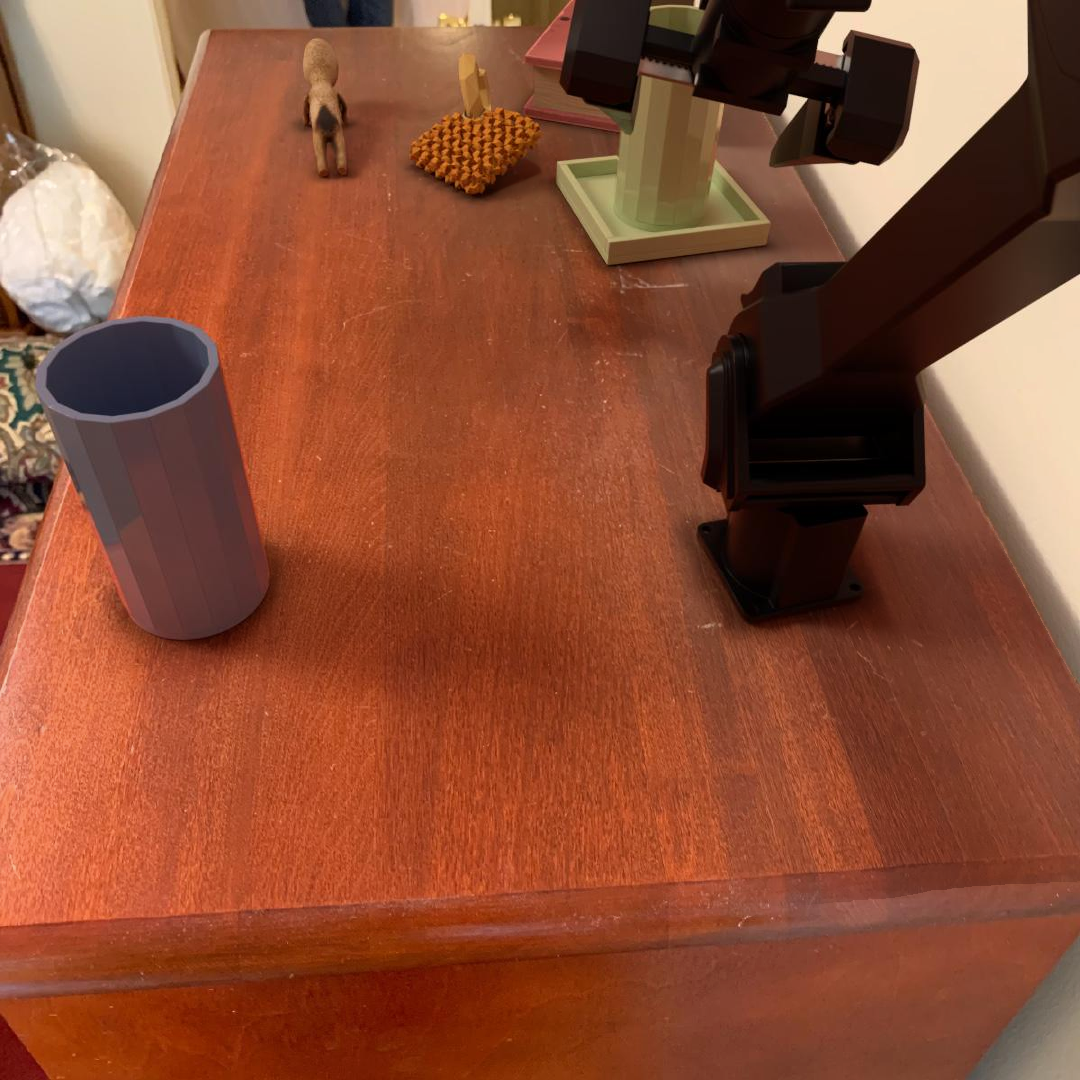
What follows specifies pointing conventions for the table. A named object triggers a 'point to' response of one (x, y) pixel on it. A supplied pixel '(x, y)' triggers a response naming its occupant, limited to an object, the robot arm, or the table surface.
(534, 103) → the book
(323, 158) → the figurine
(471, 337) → the table surface
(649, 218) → the green cup
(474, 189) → the ornament
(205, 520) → the blue cup
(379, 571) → the table surface
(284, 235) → the table surface
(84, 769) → the table surface
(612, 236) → the green tray
